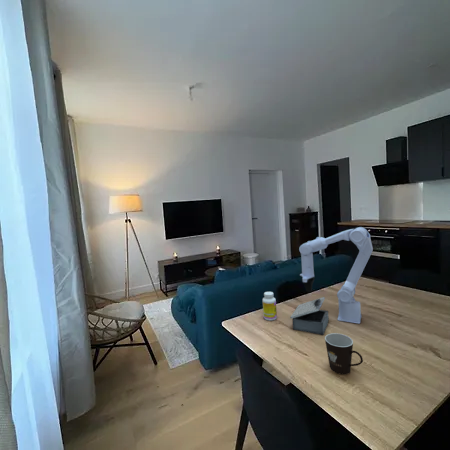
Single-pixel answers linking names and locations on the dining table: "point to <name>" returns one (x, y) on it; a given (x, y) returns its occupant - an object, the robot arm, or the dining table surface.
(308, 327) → the grey square box
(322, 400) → the dining table surface
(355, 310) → the robot arm
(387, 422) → the dining table surface
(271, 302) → the supplement bottle
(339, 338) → the coffee mug
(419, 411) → the dining table surface
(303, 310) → the steel lid
